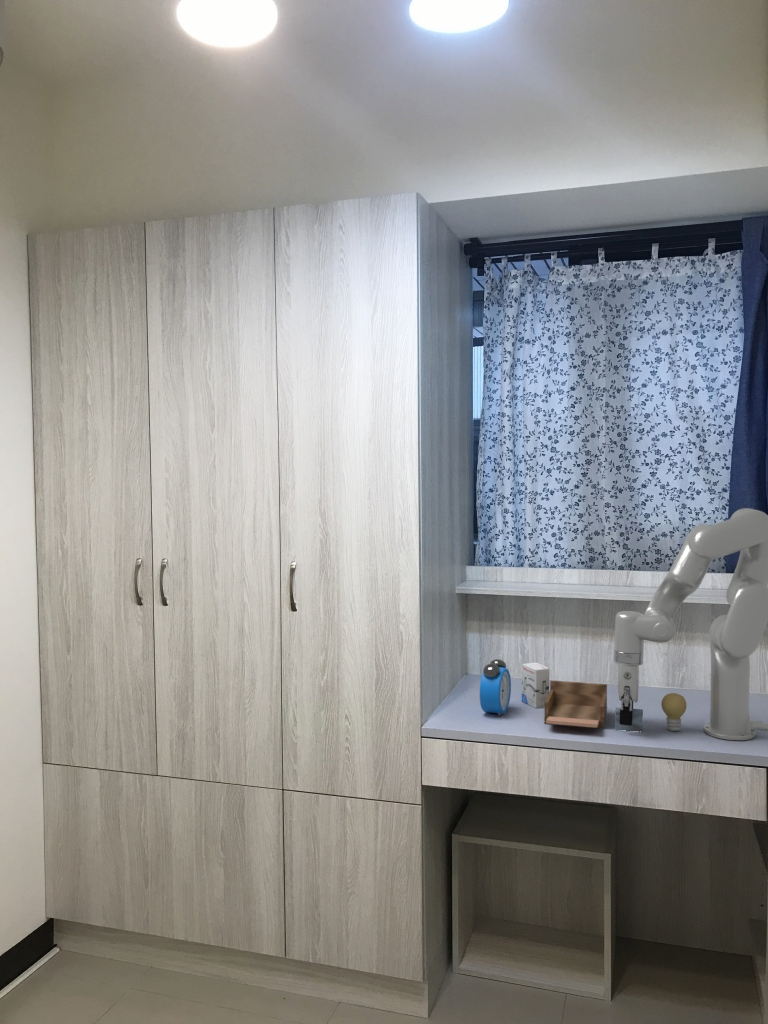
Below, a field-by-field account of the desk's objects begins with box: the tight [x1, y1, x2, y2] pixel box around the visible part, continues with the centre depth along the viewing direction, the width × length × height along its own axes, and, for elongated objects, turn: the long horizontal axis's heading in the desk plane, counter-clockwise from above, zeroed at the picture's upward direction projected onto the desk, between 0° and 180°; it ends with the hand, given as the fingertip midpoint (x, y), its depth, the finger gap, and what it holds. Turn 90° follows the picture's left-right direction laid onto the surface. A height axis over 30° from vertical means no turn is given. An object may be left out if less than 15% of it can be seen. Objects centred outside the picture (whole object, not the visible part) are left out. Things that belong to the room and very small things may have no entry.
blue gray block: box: [614, 707, 644, 733], centre depth 226 cm, size 7×5×5 cm, turn 73°
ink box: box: [521, 662, 550, 709], centre depth 250 cm, size 9×5×12 cm, turn 21°
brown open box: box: [543, 680, 608, 730], centre depth 235 cm, size 16×15×8 cm
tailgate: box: [546, 716, 599, 728], centre depth 225 cm, size 13×1×7 cm
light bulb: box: [660, 692, 687, 732], centre depth 224 cm, size 6×6×10 cm
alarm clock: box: [479, 658, 512, 717], centre depth 242 cm, size 13×6×15 cm, turn 157°
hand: (626, 719), depth 226 cm, fingers open, 9 cm apart
